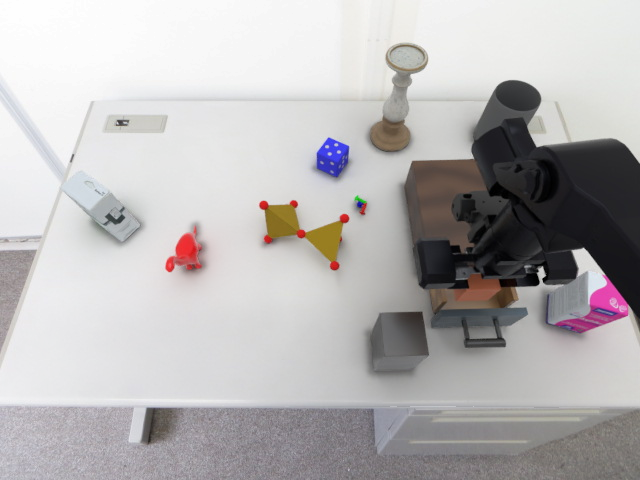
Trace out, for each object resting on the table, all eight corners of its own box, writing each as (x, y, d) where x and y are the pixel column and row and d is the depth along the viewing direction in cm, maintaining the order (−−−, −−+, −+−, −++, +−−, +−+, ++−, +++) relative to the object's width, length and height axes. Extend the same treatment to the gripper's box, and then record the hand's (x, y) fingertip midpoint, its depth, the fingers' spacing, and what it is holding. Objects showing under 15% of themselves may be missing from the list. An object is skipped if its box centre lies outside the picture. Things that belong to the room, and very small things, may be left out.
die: (348, 161, 81) (349, 145, 77) (337, 177, 79) (337, 162, 75) (328, 152, 82) (328, 136, 78) (316, 168, 80) (316, 152, 76)
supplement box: (545, 324, 64) (586, 303, 54) (547, 293, 67) (586, 267, 57) (581, 335, 63) (630, 315, 53) (581, 303, 66) (628, 278, 56)
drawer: (517, 351, 61) (536, 343, 56) (435, 353, 61) (446, 345, 56) (485, 229, 72) (499, 212, 66) (415, 231, 72) (423, 214, 66)
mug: (468, 124, 86) (488, 80, 75) (508, 122, 86) (533, 78, 75) (483, 172, 79) (507, 131, 69) (526, 170, 80) (557, 128, 69)
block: (487, 300, 53) (501, 289, 49) (455, 301, 53) (466, 290, 49) (480, 270, 55) (492, 257, 51) (449, 271, 55) (459, 258, 51)
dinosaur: (205, 224, 74) (185, 187, 63) (204, 296, 67) (181, 268, 56) (185, 227, 74) (161, 190, 63) (182, 299, 67) (154, 272, 56)
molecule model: (285, 178, 78) (276, 152, 66) (368, 204, 76) (374, 182, 64) (257, 251, 75) (243, 237, 63) (343, 280, 73) (345, 271, 61)
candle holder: (403, 156, 82) (425, 77, 64) (365, 145, 83) (376, 65, 65) (413, 128, 85) (437, 46, 68) (376, 118, 87) (390, 35, 69)
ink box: (93, 221, 75) (56, 186, 64) (113, 204, 77) (79, 167, 66) (122, 243, 72) (88, 211, 62) (142, 225, 74) (112, 190, 64)
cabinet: (497, 271, 69) (517, 251, 62) (417, 273, 69) (428, 254, 62) (474, 184, 78) (489, 158, 71) (403, 186, 78) (411, 160, 71)
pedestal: (410, 370, 61) (429, 355, 50) (373, 371, 61) (384, 356, 50) (405, 333, 64) (422, 311, 53) (370, 334, 64) (379, 312, 53)
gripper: (580, 169, 44) (518, 233, 58) (420, 174, 44) (397, 237, 58) (618, 255, 39) (540, 303, 52) (437, 261, 39) (407, 307, 52)
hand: (469, 284), depth 54 cm, fingers closed on block, 4 cm apart
